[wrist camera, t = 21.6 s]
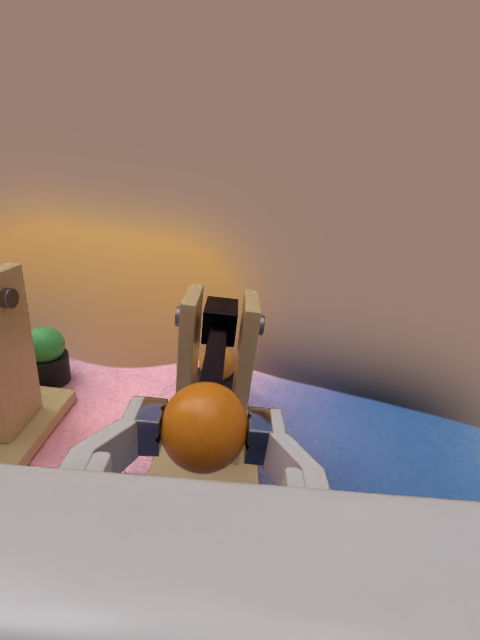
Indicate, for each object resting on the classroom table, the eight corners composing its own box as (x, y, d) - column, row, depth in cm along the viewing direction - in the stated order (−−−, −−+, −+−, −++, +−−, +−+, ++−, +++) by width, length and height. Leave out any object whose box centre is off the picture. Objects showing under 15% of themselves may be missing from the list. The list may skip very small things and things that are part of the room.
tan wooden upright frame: (257, 511, 23) (292, 335, 17) (142, 502, 22) (141, 319, 17) (252, 416, 32) (275, 281, 27) (171, 408, 32) (176, 270, 26)
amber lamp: (192, 407, 32) (196, 355, 30) (197, 383, 36) (201, 335, 34) (232, 411, 32) (239, 359, 30) (233, 387, 36) (239, 340, 34)
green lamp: (16, 390, 32) (6, 335, 29) (40, 368, 35) (32, 318, 33) (58, 394, 32) (51, 340, 29) (77, 371, 35) (72, 322, 33)
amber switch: (242, 498, 13) (255, 429, 11) (150, 490, 13) (149, 419, 11) (243, 336, 25) (249, 292, 23) (195, 331, 24) (198, 286, 23)
